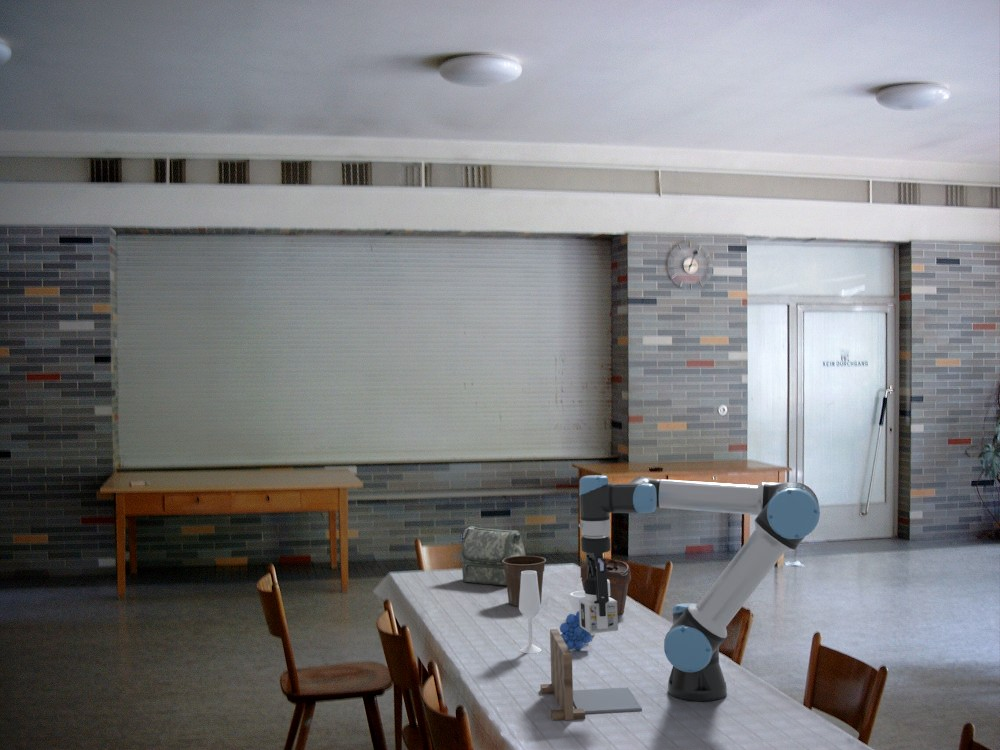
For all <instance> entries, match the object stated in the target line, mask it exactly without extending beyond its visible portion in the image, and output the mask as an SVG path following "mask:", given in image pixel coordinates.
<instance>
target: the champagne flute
mask: <svg viewBox="0 0 1000 750" xmlns="http://www.w3.org/2000/svg"><path fill="white" fill-rule="evenodd" d="M518 610H519V612H520V614H522V615H523V616H524V617H525V618H526V619H527V624H528V627H527V628H528V629H527V630H528V635H527V636H528V644H527V645H525V646H523V647H522V648H520V649H519V651H520V653H523V654H537V653H540V652H542V649H541V648H540V647H539V646H536V645H535V644H533V619H534V618H535V617H536V616H537V615H538V614H539V612H540V610H541V604H540V597H539V589H538V580H537V572H536V571H531V570H528V571H522V572H521V583H520V598H519V607H518Z"/></svg>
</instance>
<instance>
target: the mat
mask: <svg viewBox="0 0 1000 750" xmlns="http://www.w3.org/2000/svg"><path fill="white" fill-rule="evenodd" d="M573 706H575V709H578V708H583V709H584V711H585V714H599V713H601V714H602V713H616V712H618V713H619V712H635V711H636V712H637V711H638V712H639V711H643V707H642V706H641V705H640V703H639V701H638V700H637V698H636V697H635V696H634V694H633V693H632V691H631V690H630V689H629V687H615V688H614V687H613V688H595V689H594V688H592V689H577V690H576V689H573Z"/></svg>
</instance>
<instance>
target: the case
mask: <svg viewBox="0 0 1000 750" xmlns="http://www.w3.org/2000/svg"><path fill="white" fill-rule="evenodd" d="M605 562H606V563H607V579H608V580H609V581H610V596H609V597H610V598H612V599H614V600H616V601H617V614H618V615H621V614H624V612H625V606H626V600H627V595H628V589H629V583H630V582H631V580H632V575H631V569H630V566H629V564H628V563H626V562H624V561H621V560H614V559H611V560H608V561H605ZM579 569H580V576H579V577H580V578H581V584H582V589H583V591H585V586H584V582H585V580H586V579H587V564H585V565H582V566H581V567H580V568H579Z"/></svg>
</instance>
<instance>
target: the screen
mask: <svg viewBox="0 0 1000 750" xmlns="http://www.w3.org/2000/svg"><path fill="white" fill-rule="evenodd" d="M561 634H562V633H561V632H560V630H558V628H553V629H552V628H551V629H549V638H550V641H549V643H550V646H549V647H550V677H551V678H550V679H551V680H550V681H551V682H550V683H545V684H544V683H543V684H540V685H539V686H540V692H541V694H553V695H554V699H555V700H556V702H557V704H558V706H559V709H550V717H551V719H552V721H564V720H565V721H574V720H583V719H586V713H585V711H584V709H583V708H578V709H576V708H574V703H573V690H574V687H573V683H574V682H573V681H574V680H573V678H574V677H573V654H572V652H571V650H569V648H568V647H567V645H566V643H565V641H564V640H563V638H562V636H561Z"/></svg>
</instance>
